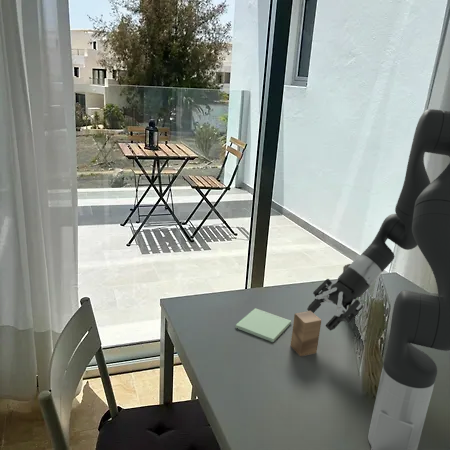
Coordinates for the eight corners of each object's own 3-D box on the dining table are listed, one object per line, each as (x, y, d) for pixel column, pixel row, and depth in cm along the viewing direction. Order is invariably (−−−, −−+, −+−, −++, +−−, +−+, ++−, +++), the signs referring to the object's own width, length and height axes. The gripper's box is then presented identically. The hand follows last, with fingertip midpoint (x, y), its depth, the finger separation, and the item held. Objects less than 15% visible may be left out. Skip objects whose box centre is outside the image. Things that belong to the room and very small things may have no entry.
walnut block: (316, 353, 116) (321, 320, 113) (300, 356, 114) (305, 323, 111) (306, 342, 120) (310, 310, 117) (290, 345, 118) (294, 313, 115)
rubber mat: (273, 342, 119) (273, 339, 119) (235, 327, 125) (235, 324, 125) (290, 323, 129) (291, 320, 129) (255, 310, 135) (255, 308, 134)
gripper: (336, 257, 121) (296, 299, 120) (371, 279, 108) (327, 326, 108) (349, 272, 124) (310, 313, 124) (384, 295, 112) (341, 341, 111)
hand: (318, 319), depth 116 cm, fingers open, 8 cm apart
